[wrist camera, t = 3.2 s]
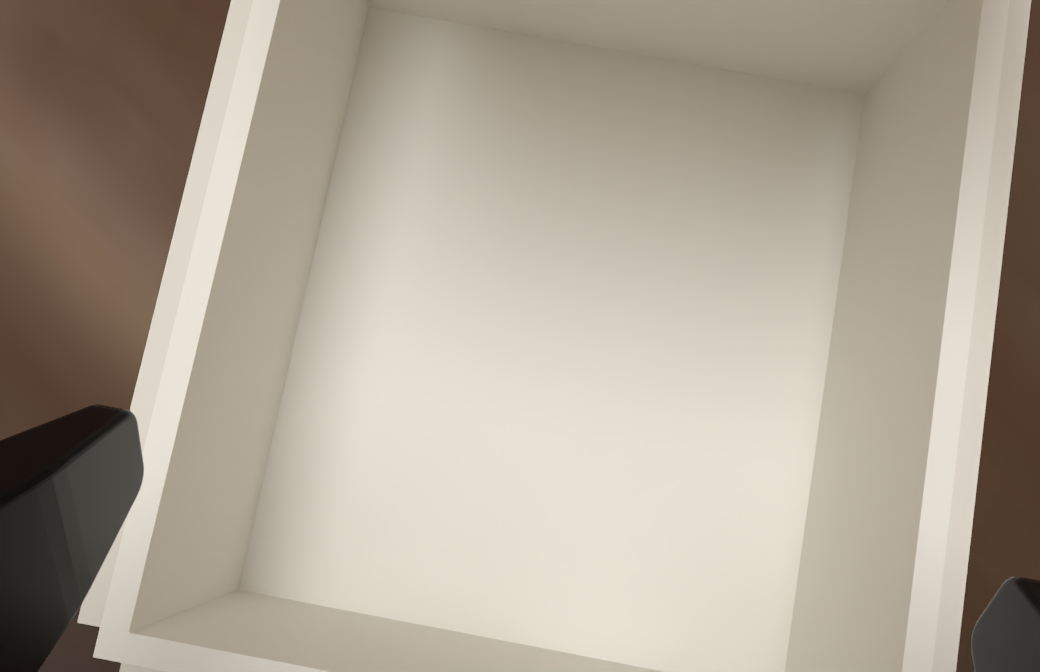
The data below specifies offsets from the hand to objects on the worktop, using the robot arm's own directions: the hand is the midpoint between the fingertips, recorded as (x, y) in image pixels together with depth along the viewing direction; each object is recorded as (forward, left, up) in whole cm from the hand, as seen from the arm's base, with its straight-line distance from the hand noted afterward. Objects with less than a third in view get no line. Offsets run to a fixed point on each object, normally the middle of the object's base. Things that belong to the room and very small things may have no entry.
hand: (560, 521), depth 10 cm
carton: (+3, +3, -14) cm, 14 cm away
